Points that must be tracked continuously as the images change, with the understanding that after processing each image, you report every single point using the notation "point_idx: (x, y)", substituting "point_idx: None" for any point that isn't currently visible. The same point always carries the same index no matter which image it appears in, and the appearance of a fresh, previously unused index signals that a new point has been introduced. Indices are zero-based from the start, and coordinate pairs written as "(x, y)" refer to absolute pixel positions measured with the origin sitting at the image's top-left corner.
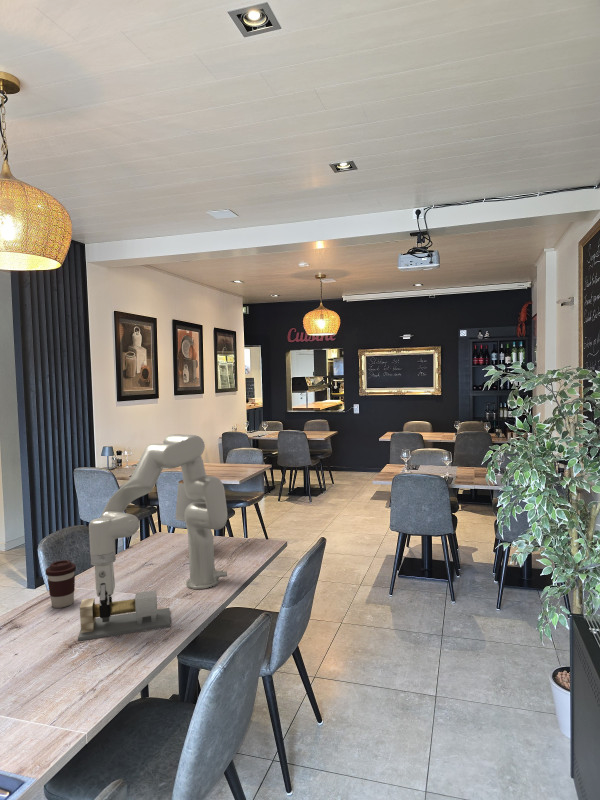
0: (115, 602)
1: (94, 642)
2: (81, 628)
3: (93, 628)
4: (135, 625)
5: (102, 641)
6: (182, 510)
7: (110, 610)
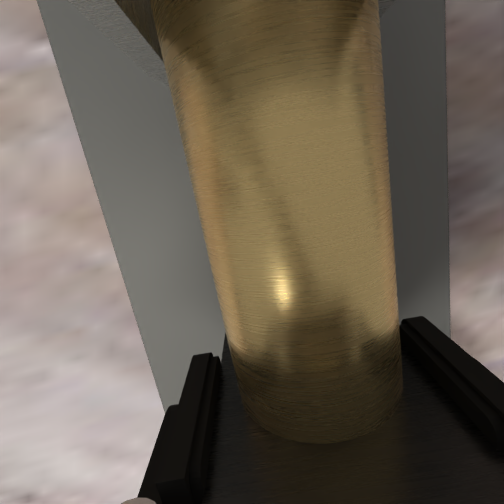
0: (346, 348)
1: (494, 328)
2: None
3: None
4: None
5: (499, 282)
6: None
7: (440, 349)
